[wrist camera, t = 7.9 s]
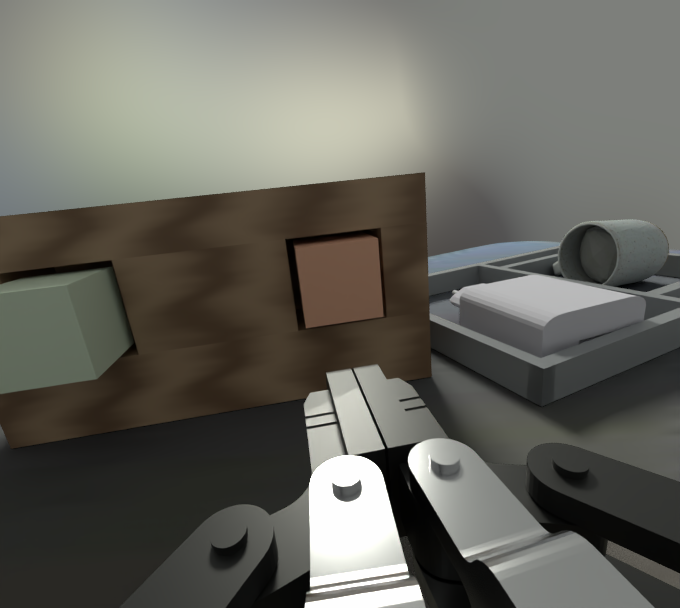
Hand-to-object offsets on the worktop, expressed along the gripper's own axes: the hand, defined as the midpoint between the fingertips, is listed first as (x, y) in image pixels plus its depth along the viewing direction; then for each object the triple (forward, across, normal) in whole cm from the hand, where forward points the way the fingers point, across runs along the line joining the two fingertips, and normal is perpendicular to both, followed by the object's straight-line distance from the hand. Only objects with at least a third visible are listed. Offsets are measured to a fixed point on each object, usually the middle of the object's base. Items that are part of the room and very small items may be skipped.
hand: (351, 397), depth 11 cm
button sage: (+12, +14, +2) cm, 19 cm away
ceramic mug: (+28, -35, +8) cm, 45 cm away
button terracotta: (+15, -2, +2) cm, 15 cm away
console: (+18, +6, +8) cm, 20 cm away
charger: (+18, -18, +8) cm, 27 cm away
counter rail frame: (+24, -26, +8) cm, 36 cm away
